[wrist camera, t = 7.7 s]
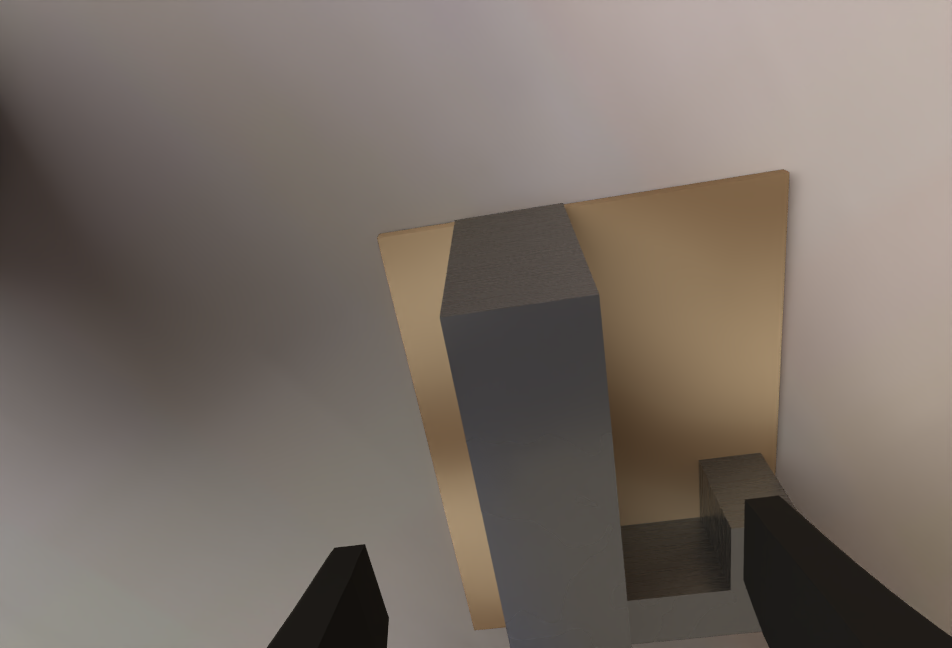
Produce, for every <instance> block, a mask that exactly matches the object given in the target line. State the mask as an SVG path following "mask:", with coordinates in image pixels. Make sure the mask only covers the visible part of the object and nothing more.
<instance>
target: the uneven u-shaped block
mask: <svg viewBox="0 0 952 648" xmlns="http://www.w3.org/2000/svg"><path fill="white" fill-rule="evenodd" d="M439 318H440V322H441V327H442V332H443V336H444V341H445V346H446V350H447V355H448V360H449V364H450V369H451V374H452V378H453V383H454V387H455V392H456V397H457V401H458V406H459V411H460V415H461V420H462V425H463V429H464V434H465V439H466V443H467V448H468V453H469V457H470V462H471V466H472V471H473V476H474V480H475V485H476V490H477V494H478V499H479V504H480V508H481V513H482V518H483V522H484V527H485V532H486V536H487V541H488V545H489V550H490V555H491V559H492V564H493V569H494V573H495V578H496V583H497V587H498V592H499V597H500V601H501V606H502V610H503V615H504V620H505V624H506V629H507V634H508V638H509V643H510V648H632V646H631V644H639V643H650V642H660V641H670V640H680V639H691V638H701V637H711V636H721V635H731V634H742V633H752V632H762V630H761V627H760V625H759V622H758V619H757V617H756V614H755V611H754V609H753V606H752V603H751V600H750V597H749V594H748V592H747V589H746V586H745V583H744V580H743V566H744V506H745V499H753V498H761V497H770V496H778V495H779V496H780V497H781V498H783V499H784V500H785V501H786V502H787V503H789V504H790V505H791V506H792V507H793V508H794V509H795V507H794V505H793V504H792V502H791V501H790V499H789V497H788V496H787V494H786V493H785V491H784V489H783V488H782V486H781V485H780V483H779V481H778V480H777V478H776V477H775V475H774V473H773V472H772V470H771V468H770V467H769V465H768V464H767V462H766V460H765V459H764V457H763V456H762V454H761V453H753V454H744V455H736V456H728V457H720V458H712V459H703V460H699V499H700V517H695V518H687V519H678V520H669V521H660V522H652V523H643V524H634V525H625V526H620V515H619V504H618V493H617V482H616V471H615V460H614V449H613V438H612V428H611V417H610V406H609V395H608V384H607V373H606V362H605V351H604V340H603V329H602V318H601V307H600V296H599V292H598V290H597V287H596V285H595V282H594V280H593V277H592V275H591V272H590V270H589V267H588V265H587V262H586V260H585V257H584V255H583V252H582V249H581V247H580V244H579V242H578V239H577V237H576V234H575V232H574V229H573V227H572V224H571V222H570V219H569V217H568V214H567V212H566V209H565V207H564V204H563V203H560V204H553V205H547V206H541V207H535V208H528V209H522V210H516V211H510V212H503V213H497V214H491V215H485V216H478V217H472V218H466V219H460V220H455V222H454V229H453V235H452V241H451V248H450V254H449V260H448V267H447V273H446V279H445V286H444V292H443V298H442V305H441V311H440V317H439ZM795 510H796V509H795ZM796 511H797V510H796Z"/></svg>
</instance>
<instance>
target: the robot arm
mask: <svg viewBox="0 0 952 648" xmlns="http://www.w3.org/2000/svg"><path fill="white" fill-rule="evenodd" d="M743 580H744V583H745V586H746V589H747V592H748V594H749V597H750V600H751V603H752V606H753V609H754V611H755V614H756V617H757V619H758V622H759V625H760V627H761V630H762V632H763V635H764V637H765V639H766V641H767V643H768V645H769V648H952V637H951V636H950V635H948V634H947V633H945V632H944V631H943V630H941V629H940V628H938V627H937V626H936V625H934V624H933V623H932V622H930V621H929V620H928V619H926V618H925V617H924V616H922V615H921V614H920V613H918V612H917V611H916V610H914V609H913V608H912V607H910V606H909V605H908V604H907V603H905V602H904V601H903V600H901V599H900V598H899V597H898V596H896V595H895V594H894V593H892V592H891V591H890V590H889V589H887V588H886V587H885V586H884V585H883V584H881V583H880V582H879V581H878V580H876V579H875V578H874V577H873V576H872V575H870V574H869V573H868V572H867V571H865V570H864V569H863V568H862V567H861V566H859V565H858V564H857V563H856V562H854V561H853V560H852V559H851V558H850V557H849V556H847V555H846V554H845V553H844V552H843V551H842V550H840V549H839V548H838V547H837V546H836V545H835V544H834V543H832V542H831V541H830V540H829V539H828V538H827V537H825V536H824V535H823V534H822V533H821V532H820V531H819V530H818V529H816V528H815V527H814V526H813V525H812V524H811V523H810V522H809V521H807V520H806V519H805V518H804V517H803V516H802V515H801V514H800V513H799V512H797V511H796V510H795V509H794V508H793V507H792V506H791V505H790V504H789V503H787V502H786V501H785V500H784V499H783V498H781V497H780V496H779V495H778V496H770V497H761V498H753V499H745V506H744V566H743ZM388 622H389V617H388V614H387V611H386V608H385V605H384V602H383V599H382V596H381V592H380V589H379V586H378V583H377V580H376V577H375V574H374V571H373V568H372V565H371V562H370V559H369V556H368V552H367V549H366V546H365V544H363V545H355V546H346V547H338V548H334V549H333V551H332V552H331V553H330V555H329V556H328V558H327V559H326V561H325V562H324V564H323V565H322V567H321V568H320V570H319V571H318V573H317V574H316V576H315V577H314V579H313V581H312V582H311V584H310V585H309V587H308V588H307V590H306V591H305V593H304V594H303V596H302V597H301V599H300V600H299V602H298V603H297V605H296V606H295V608H294V609H293V611H292V612H291V614H290V615H289V617H288V618H287V619H286V621H285V622H284V624H283V625H282V627H281V628H280V630H279V631H278V632H277V634H276V635H275V637H274V638H273V640H272V641H271V642H270V644H269V645H268V647H267V648H387V637H388Z"/></svg>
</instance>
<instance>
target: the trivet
mask: <svg viewBox="0 0 952 648" xmlns="http://www.w3.org/2000/svg"><path fill="white" fill-rule="evenodd" d="M788 192H789V172H787V171H786V170H784V169H783V170H777V171H770V172H764V173H758V174H752V175H745V176H739V177H733V178H727V179H720V180H714V181H708V182H702V183H695V184H689V185H683V186H677V187H670V188H664V189H658V190H652V191H645V192H639V193H633V194H627V195H620V196H614V197H608V198H601V199H595V200H589V201H583V202H576V203H570V204H564V207H565V209H566V212H567V214H568V217H569V219H570V222H571V224H572V227H573V229H574V232H575V234H576V237H577V239H578V242H579V244H580V247H581V249H582V252H583V255H584V257H585V260H586V262H587V265H588V267H589V270H590V272H591V275H592V277H593V280H594V282H595V285H596V287H597V290H598V292H599V296H600V307H601V318H602V329H603V340H604V351H605V362H606V373H607V384H608V395H609V406H610V417H611V428H612V438H613V449H614V460H615V471H616V482H617V493H618V504H619V515H620V526H625V525H634V524H643V523H652V522H660V521H669V520H678V519H687V518H695V517H700V499H699V460H703V459H712V458H720V457H728V456H736V455H744V454H753V453H761V454H762V456H763V457H764V459H765V460H766V462H767V464H768V465H769V467H770V468H771V470H772V472H773V473H774V475H775V469H776V448H777V426H778V405H779V384H780V362H781V341H782V320H783V298H784V277H785V256H786V234H787V213H788ZM453 229H454V222H451V223H445V224H439V225H433V226H426V227H420V228H414V229H408V230H401V231H395V232H389V233H383V234H379V236H378V238H377V239H378V243H379V247H380V251H381V255H382V259H383V264H384V268H385V272H386V276H387V280H388V284H389V288H390V292H391V296H392V300H393V304H394V308H395V312H396V316H397V320H398V324H399V328H400V332H401V336H402V340H403V344H404V348H405V352H406V356H407V360H408V364H409V368H410V372H411V376H412V380H413V385H414V389H415V393H416V397H417V401H418V405H419V409H420V413H421V417H422V421H423V425H424V429H425V433H426V437H427V441H428V445H429V449H430V453H431V457H432V461H433V465H434V469H435V473H436V477H437V481H438V485H439V489H440V493H441V497H442V501H443V506H444V510H445V514H446V518H447V522H448V526H449V530H450V534H451V538H452V542H453V546H454V550H455V554H456V558H457V562H458V566H459V570H460V574H461V578H462V582H463V586H464V590H465V594H466V598H467V602H468V606H469V610H470V614H471V618H472V622H473V626H474V630H482V629H492V628H502V627H506V624H505V620H504V615H503V610H502V606H501V601H500V597H499V592H498V587H497V583H496V578H495V573H494V569H493V564H492V559H491V555H490V550H489V545H488V541H487V536H486V532H485V527H484V522H483V518H482V513H481V508H480V504H479V499H478V494H477V490H476V485H475V480H474V476H473V471H472V466H471V462H470V457H469V453H468V448H467V443H466V439H465V434H464V429H463V425H462V420H461V415H460V411H459V406H458V401H457V397H456V392H455V387H454V383H453V378H452V374H451V369H450V364H449V360H448V355H447V350H446V346H445V341H444V336H443V332H442V327H441V322H440V318H439V317H440V311H441V305H442V298H443V292H444V286H445V279H446V273H447V267H448V260H449V254H450V248H451V241H452V235H453Z"/></svg>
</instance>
